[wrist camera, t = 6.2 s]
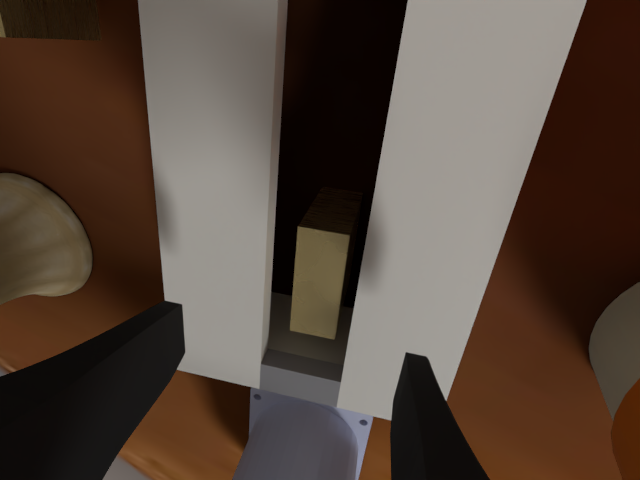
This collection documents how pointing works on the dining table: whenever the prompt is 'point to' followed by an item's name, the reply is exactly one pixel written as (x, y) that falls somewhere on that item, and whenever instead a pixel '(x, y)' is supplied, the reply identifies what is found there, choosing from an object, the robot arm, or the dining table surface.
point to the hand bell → (39, 242)
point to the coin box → (389, 196)
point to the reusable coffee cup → (620, 375)
